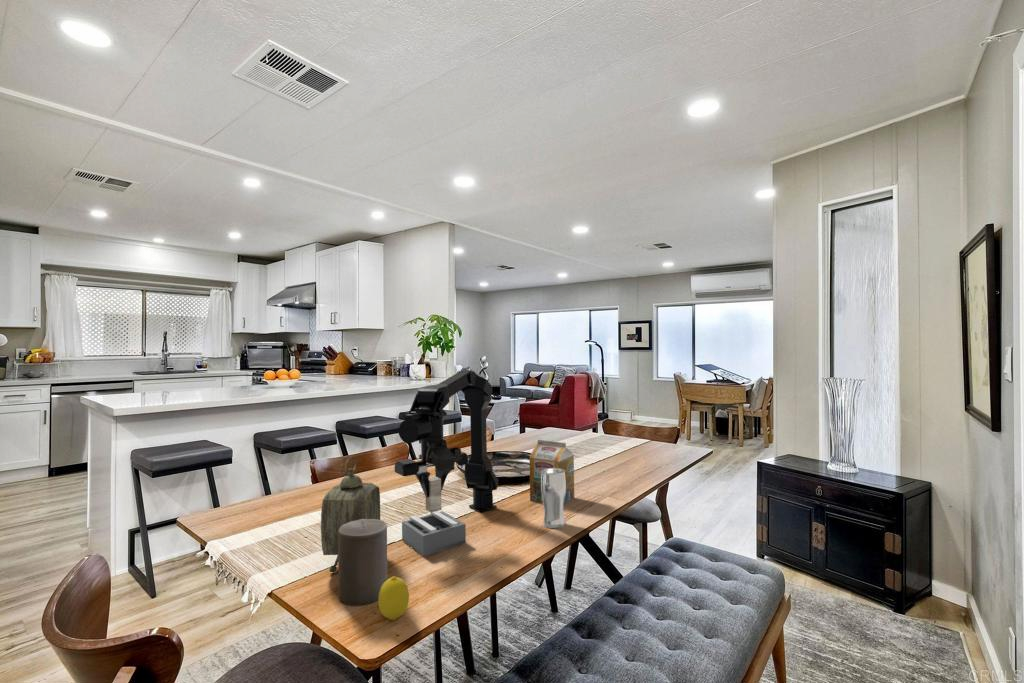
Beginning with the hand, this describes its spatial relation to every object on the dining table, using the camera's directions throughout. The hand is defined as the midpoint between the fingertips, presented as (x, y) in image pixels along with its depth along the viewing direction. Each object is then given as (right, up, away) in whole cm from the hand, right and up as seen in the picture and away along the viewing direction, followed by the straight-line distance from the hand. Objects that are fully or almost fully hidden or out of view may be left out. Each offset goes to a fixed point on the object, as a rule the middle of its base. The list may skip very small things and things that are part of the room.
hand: (433, 495), depth 121 cm
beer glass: (+32, -12, +11) cm, 36 cm away
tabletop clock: (-17, -12, -11) cm, 24 cm away
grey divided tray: (0, -12, 0) cm, 12 cm away
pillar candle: (-10, -12, -24) cm, 29 cm away
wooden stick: (0, -4, 0) cm, 4 cm away
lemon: (-2, -12, -34) cm, 36 cm away
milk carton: (+34, -12, +32) cm, 48 cm away
